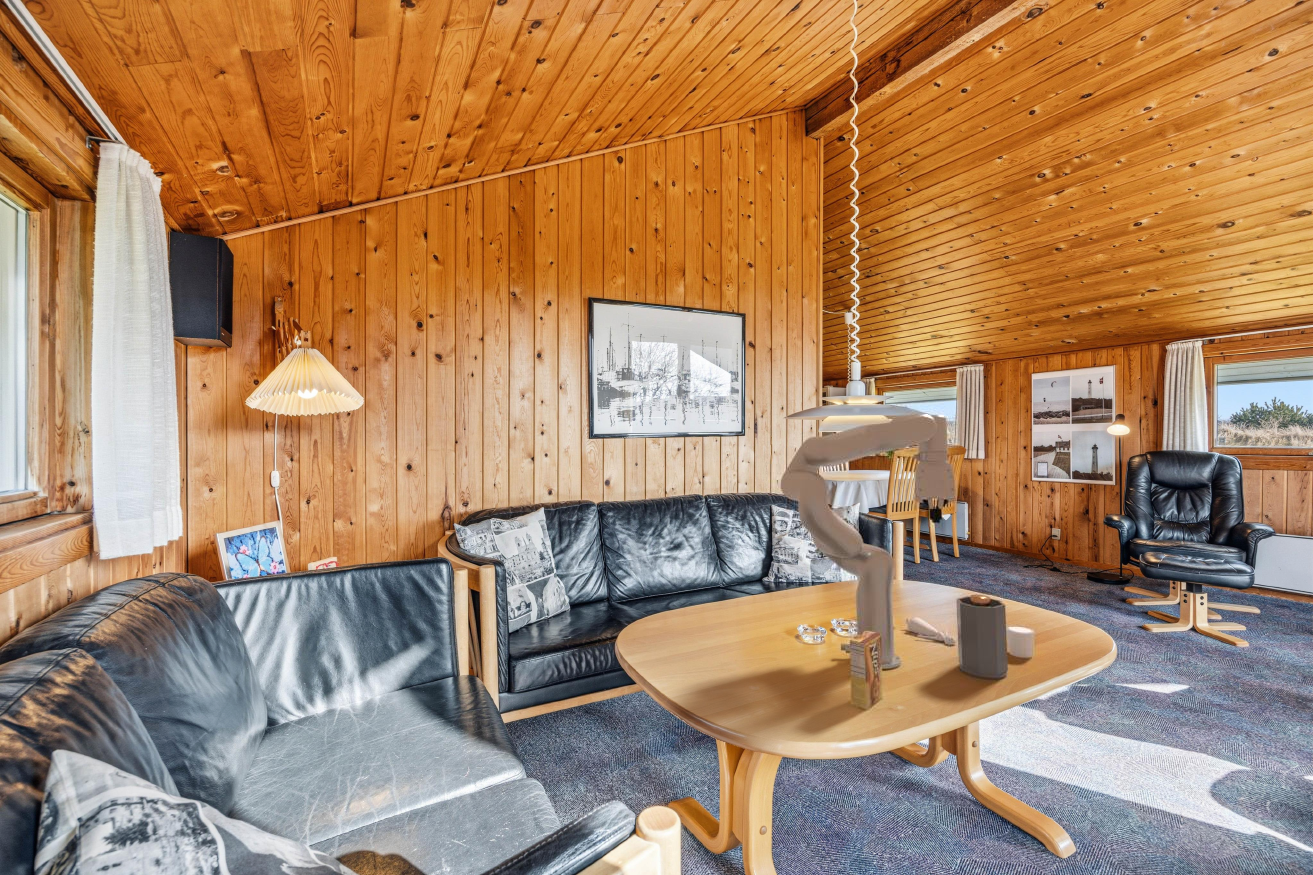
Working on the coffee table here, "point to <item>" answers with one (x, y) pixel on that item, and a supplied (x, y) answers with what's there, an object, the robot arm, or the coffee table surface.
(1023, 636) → the white cylinder
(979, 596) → the plunger
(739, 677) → the coffee table surface
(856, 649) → the candy box
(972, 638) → the press pot
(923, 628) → the woman figurine
